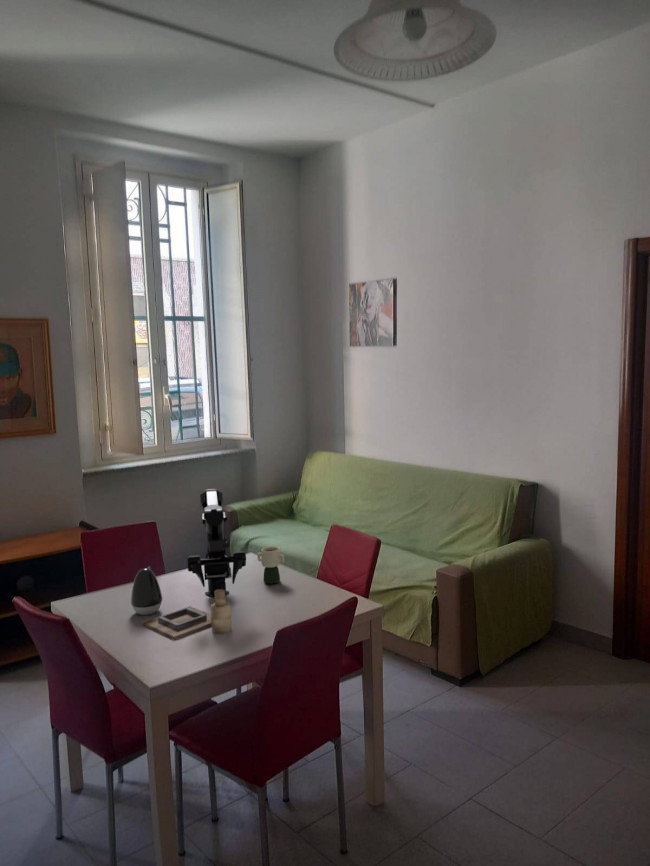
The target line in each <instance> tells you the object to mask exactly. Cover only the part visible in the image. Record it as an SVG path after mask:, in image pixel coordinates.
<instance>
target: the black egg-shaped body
mask: <svg viewBox="0 0 650 866" xmlns="http://www.w3.org/2000/svg"><path fill="white" fill-rule="evenodd" d="M162 602H163V595H162V590H161V586H160V584H159V580H158V578H157V577H156V574H155V573H154V572H153V570H152V568H151V566H147V568H146V567H144V568H141V569H139V570H138V571H137V573H136V575H135V578H134V580H133V585H132V589H131V595H130V605H131V606H132V608H133V611H134V612H135V613H136V614H139V615H141V616H149V615H152V614H155V613H156V612H157V611H159V610H160V608H161V606H162Z"/></svg>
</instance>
